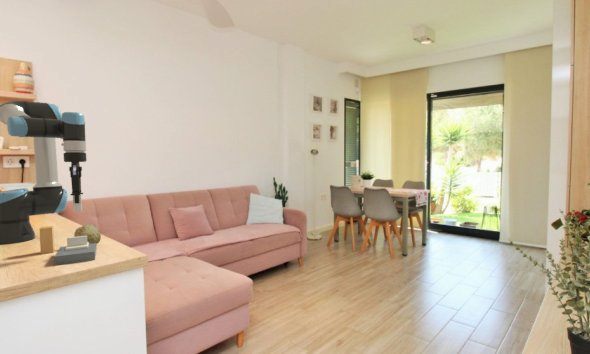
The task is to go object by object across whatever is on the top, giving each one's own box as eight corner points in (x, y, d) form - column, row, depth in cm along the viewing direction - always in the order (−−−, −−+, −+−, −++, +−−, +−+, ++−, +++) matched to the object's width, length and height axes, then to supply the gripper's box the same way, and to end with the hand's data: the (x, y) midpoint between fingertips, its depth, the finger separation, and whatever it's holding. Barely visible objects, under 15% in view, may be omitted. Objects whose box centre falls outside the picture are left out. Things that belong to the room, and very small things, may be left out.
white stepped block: (67, 246, 131) (67, 236, 130) (88, 244, 134) (88, 234, 134) (65, 250, 125) (65, 240, 124) (87, 248, 128) (87, 237, 128)
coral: (109, 227, 147) (89, 222, 139) (100, 250, 144) (79, 246, 136) (94, 224, 151) (74, 219, 142) (85, 246, 148) (64, 242, 139)
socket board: (60, 254, 130) (60, 246, 130) (96, 250, 136) (96, 242, 136) (54, 264, 117) (54, 256, 117) (94, 259, 123) (94, 251, 123)
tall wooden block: (42, 251, 135) (41, 226, 135) (54, 250, 137) (53, 225, 136) (40, 254, 132) (39, 228, 131) (53, 252, 133) (52, 227, 133)
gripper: (65, 152, 137) (68, 210, 138) (61, 151, 125) (64, 214, 127) (87, 152, 140) (89, 208, 142) (84, 151, 129) (87, 212, 130)
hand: (77, 211), depth 134 cm, fingers closed
